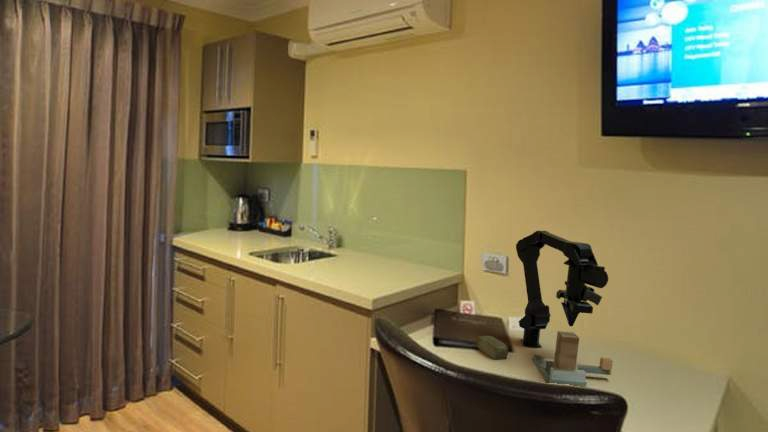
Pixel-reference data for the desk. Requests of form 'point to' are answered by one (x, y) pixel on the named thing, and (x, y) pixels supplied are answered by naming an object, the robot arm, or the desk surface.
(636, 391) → the desk surface
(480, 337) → the stone block
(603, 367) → the light brown wooden block
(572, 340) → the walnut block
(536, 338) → the robot arm
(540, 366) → the frosted green glass slab
